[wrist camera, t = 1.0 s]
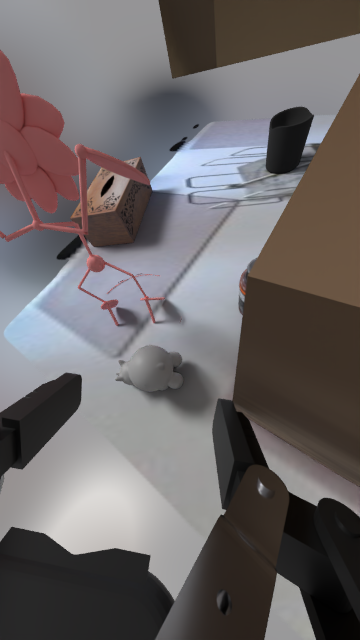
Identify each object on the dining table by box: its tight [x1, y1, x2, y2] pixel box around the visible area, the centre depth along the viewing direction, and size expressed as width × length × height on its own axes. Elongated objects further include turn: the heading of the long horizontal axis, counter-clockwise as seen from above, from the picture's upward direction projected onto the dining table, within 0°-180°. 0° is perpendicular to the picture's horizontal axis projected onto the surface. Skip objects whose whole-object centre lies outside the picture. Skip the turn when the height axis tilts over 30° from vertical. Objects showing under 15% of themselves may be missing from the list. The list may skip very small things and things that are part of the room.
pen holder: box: [266, 107, 314, 174], centre depth 48 cm, size 9×9×10 cm
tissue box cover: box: [70, 157, 152, 247], centre depth 57 cm, size 26×14×10 cm, turn 171°
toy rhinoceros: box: [115, 345, 183, 392], centre depth 31 cm, size 7×12×8 cm, turn 90°
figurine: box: [0, 50, 181, 326], centre depth 28 cm, size 15×26×35 cm, turn 88°
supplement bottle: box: [239, 258, 257, 315], centre depth 30 cm, size 6×6×11 cm
